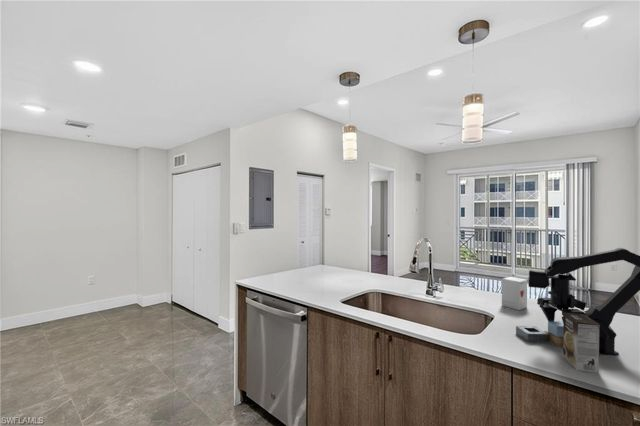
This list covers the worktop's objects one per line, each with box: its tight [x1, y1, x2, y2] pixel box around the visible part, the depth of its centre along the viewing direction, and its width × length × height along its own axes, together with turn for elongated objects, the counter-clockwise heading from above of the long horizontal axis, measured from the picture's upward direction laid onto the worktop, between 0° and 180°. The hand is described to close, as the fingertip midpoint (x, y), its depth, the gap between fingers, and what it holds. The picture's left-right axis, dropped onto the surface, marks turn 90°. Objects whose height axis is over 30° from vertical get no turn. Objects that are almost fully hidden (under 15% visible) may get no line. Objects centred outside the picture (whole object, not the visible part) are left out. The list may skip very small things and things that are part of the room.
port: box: [515, 325, 550, 343], centre depth 123 cm, size 8×8×3 cm
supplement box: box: [501, 276, 528, 311], centre depth 162 cm, size 9×9×15 cm
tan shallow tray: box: [543, 330, 564, 348], centre depth 119 cm, size 7×7×3 cm
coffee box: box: [562, 313, 600, 374], centre depth 102 cm, size 9×6×16 cm
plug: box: [547, 320, 564, 337], centre depth 119 cm, size 5×6×8 cm
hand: (560, 329), depth 119 cm, fingers open, 9 cm apart
